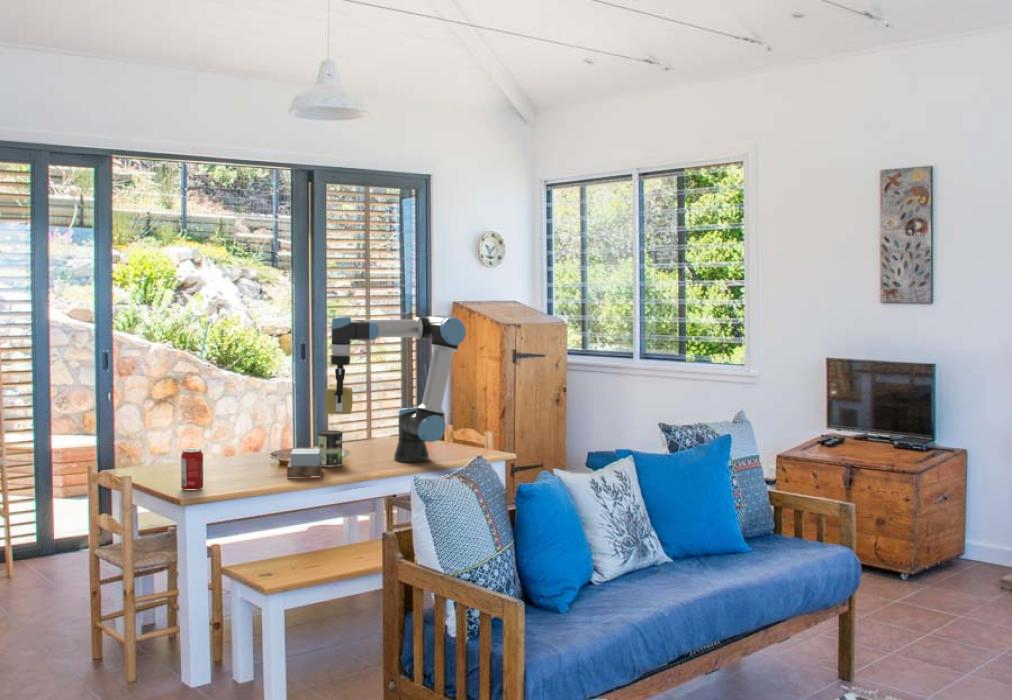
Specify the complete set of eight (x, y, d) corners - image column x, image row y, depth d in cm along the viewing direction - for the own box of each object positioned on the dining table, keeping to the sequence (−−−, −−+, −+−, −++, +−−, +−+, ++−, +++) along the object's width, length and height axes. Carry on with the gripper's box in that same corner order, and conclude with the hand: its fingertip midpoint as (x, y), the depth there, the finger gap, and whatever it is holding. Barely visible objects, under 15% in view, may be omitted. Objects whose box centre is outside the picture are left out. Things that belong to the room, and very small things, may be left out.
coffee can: (345, 463, 436) (346, 430, 435) (337, 467, 426) (337, 434, 424) (323, 461, 438) (323, 429, 437) (313, 466, 428) (314, 433, 427)
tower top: (320, 460, 416) (320, 448, 416) (318, 466, 406) (318, 453, 405) (292, 461, 415) (292, 448, 415) (290, 466, 404) (290, 453, 404)
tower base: (321, 472, 418) (321, 460, 417) (320, 479, 405) (320, 466, 405) (289, 472, 416) (289, 460, 416) (287, 479, 403) (287, 466, 403)
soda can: (177, 491, 376) (177, 451, 375) (187, 486, 384) (187, 447, 383) (197, 492, 375) (197, 452, 374) (206, 487, 383) (206, 448, 382)
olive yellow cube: (326, 410, 417) (327, 386, 416) (353, 411, 418) (353, 387, 417) (324, 414, 406) (325, 389, 406) (351, 414, 408) (352, 389, 407)
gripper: (331, 352, 421) (330, 405, 423) (330, 356, 399) (329, 413, 400) (350, 352, 422) (348, 405, 424) (349, 357, 400) (348, 413, 401)
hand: (339, 409), depth 412 cm, fingers closed on olive yellow cube, 10 cm apart
